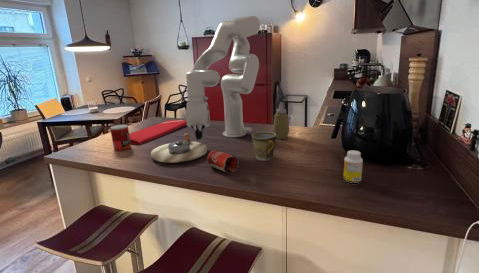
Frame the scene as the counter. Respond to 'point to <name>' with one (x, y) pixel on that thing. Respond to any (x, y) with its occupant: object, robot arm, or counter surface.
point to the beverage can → (222, 161)
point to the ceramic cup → (264, 145)
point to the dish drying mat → (155, 131)
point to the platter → (164, 155)
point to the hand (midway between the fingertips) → (199, 138)
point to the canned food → (120, 137)
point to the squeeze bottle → (281, 123)
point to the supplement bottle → (353, 167)
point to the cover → (179, 147)
